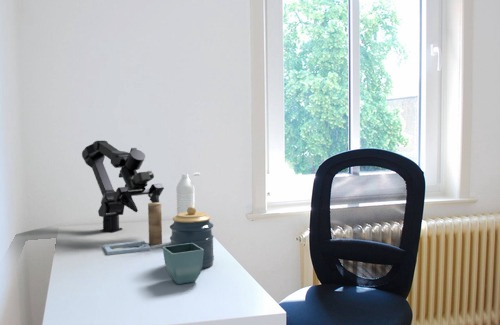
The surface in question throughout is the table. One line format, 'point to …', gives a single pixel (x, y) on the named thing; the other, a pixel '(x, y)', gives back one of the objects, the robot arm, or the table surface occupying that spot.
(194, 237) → the canister
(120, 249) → the keyhole plate
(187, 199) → the water bottle
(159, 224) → the tan peg
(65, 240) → the table surface
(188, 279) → the flower pot
